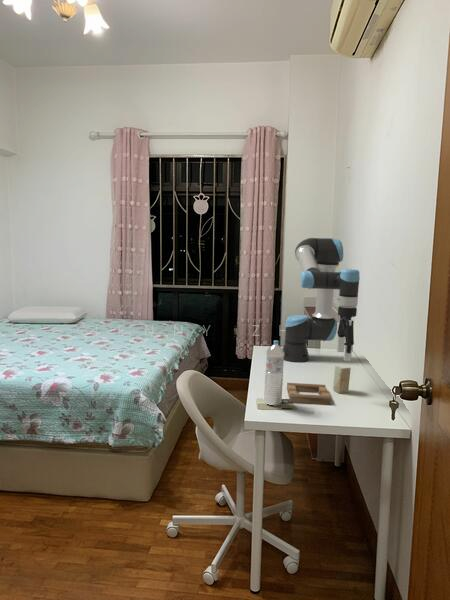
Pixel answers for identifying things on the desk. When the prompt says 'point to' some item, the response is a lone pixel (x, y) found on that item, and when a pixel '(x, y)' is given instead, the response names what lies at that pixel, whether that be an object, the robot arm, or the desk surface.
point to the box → (341, 379)
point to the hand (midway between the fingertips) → (343, 356)
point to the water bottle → (274, 375)
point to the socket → (304, 398)
